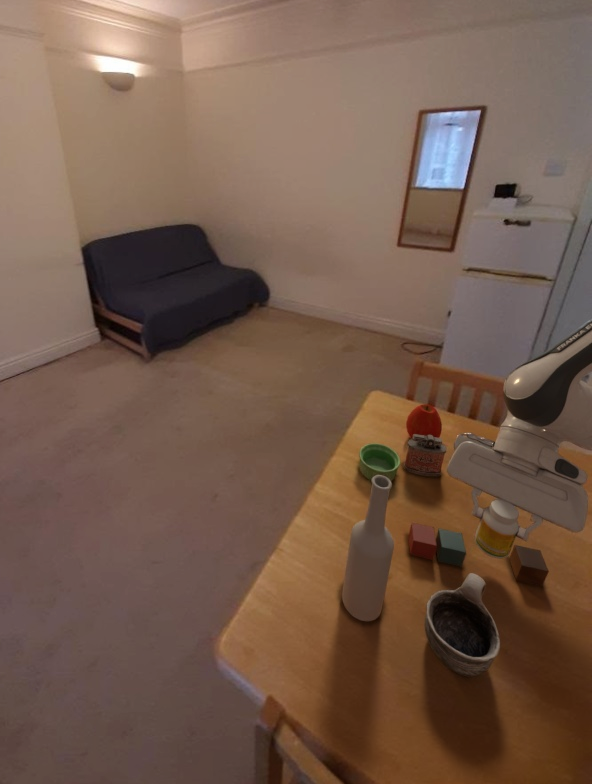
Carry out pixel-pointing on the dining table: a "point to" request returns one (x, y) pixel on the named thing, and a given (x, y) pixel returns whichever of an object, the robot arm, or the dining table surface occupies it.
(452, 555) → the block
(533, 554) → the brown block
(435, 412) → the apple
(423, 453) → the lighter
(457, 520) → the dining table surface
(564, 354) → the robot arm
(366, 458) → the ramekin
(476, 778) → the dining table surface
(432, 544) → the red cube
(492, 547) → the supplement bottle
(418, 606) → the dining table surface
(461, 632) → the mug
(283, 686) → the dining table surface
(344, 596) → the bottle
